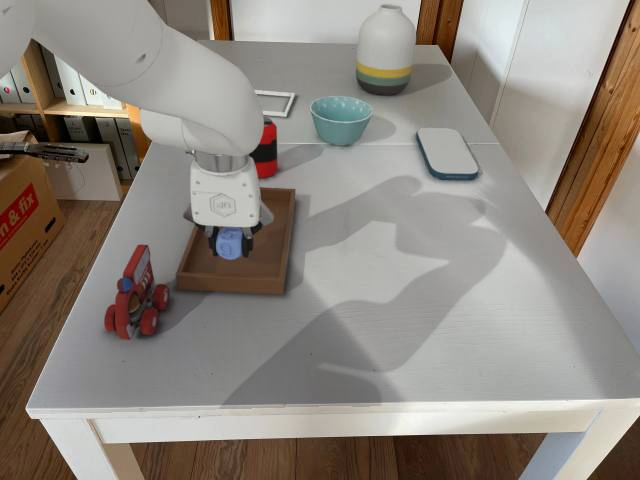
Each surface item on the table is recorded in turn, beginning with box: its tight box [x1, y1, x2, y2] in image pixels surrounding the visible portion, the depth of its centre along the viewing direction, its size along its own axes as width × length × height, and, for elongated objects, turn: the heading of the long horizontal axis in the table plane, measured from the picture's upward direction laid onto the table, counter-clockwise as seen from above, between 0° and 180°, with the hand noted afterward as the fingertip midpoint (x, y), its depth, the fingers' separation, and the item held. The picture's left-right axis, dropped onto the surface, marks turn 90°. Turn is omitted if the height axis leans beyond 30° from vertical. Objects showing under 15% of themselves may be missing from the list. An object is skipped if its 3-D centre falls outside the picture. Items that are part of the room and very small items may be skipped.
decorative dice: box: [216, 227, 244, 260], centre depth 81 cm, size 4×4×4 cm
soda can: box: [249, 116, 278, 179], centre depth 110 cm, size 8×8×12 cm
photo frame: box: [254, 89, 296, 118], centre depth 142 cm, size 15×1×18 cm
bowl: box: [309, 95, 374, 147], centre depth 125 cm, size 16×16×8 cm
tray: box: [175, 186, 296, 296], centre depth 93 cm, size 28×18×3 cm, turn 178°
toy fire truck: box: [103, 244, 170, 341], centre depth 75 cm, size 7×12×10 cm, turn 175°
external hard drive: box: [415, 127, 480, 181], centre depth 122 cm, size 24×12×2 cm, turn 1°
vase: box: [355, 3, 417, 96], centre depth 148 cm, size 17×17×24 cm
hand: (232, 250), depth 82 cm, fingers closed on decorative dice, 4 cm apart
